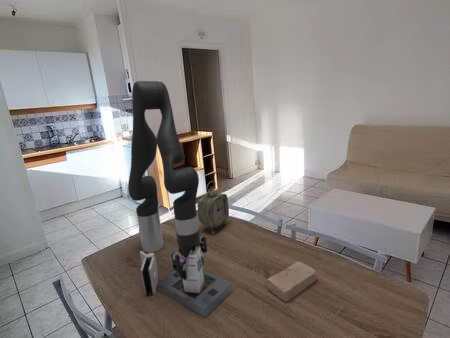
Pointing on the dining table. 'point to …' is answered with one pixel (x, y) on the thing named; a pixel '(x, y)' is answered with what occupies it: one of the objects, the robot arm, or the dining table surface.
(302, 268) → the brick
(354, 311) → the dining table surface
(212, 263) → the dining table surface
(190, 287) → the syrup box
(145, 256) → the hinge
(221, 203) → the tabletop clock
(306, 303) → the dining table surface
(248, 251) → the dining table surface
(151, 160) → the robot arm
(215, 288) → the rail plate
